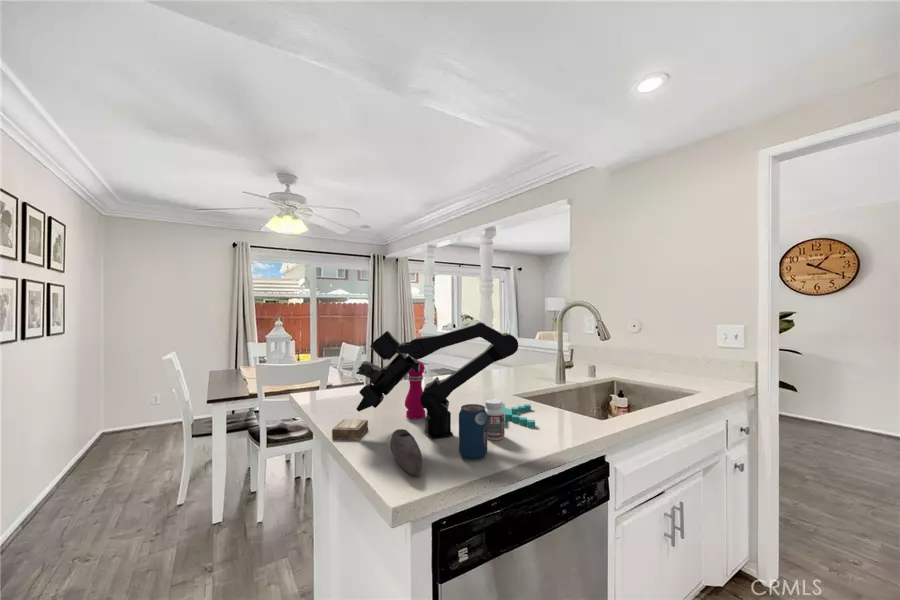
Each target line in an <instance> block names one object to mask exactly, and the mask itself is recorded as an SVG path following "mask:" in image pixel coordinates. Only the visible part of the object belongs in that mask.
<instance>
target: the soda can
mask: <svg viewBox="0 0 900 600" xmlns="http://www.w3.org/2000/svg"><path fill="white" fill-rule="evenodd" d="M484 406H485V405H481V404H479V403H478V404H476V403H469V404H464V405H461V407H460V410H459V413H458V452H459V454H460V457H461V458H462V459H463V460H466V461H469V462H479V461H481V460H484V459H485V457H486V455H488V439H487V413H486V411H485V407H484ZM483 458H484V459H483ZM478 460H479V461H478Z"/></svg>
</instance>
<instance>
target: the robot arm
mask: <svg viewBox="0 0 900 600" xmlns="http://www.w3.org/2000/svg"><path fill="white" fill-rule="evenodd" d="M478 338H481V339H483V340H484V341H487V342H488V343H489V346H488V347H487V348H486V349H485V350H484V351H483V352H482V353H480V354H478V355H477V356H475V357H474V358H473V359H471V360H469V361H468V362H467V363H466V364H464V365H463V366H462V367H460V368H458V369H457V370H455V372H454V371H453V373H451V374H450V375H449V376H448V377H446V378H443V379H440V378H439V377H438V376H436V377H435V378H434V379H433V380H432V381H431V382H429V383H426V385H425V386H424V388H423V393H422V395H421V398H420V401H421V404H422V406H423V407H424V409H425V410H426V417H424V433H425V434H426V435H427V436H428V437H430V438H431V439H432V440H433V439H439V438H444V437H450V436H451V437H452V436H454V433H453V432H452V430H451V429H452V428H451V427H452V424H451V423H452V421H451V416H452V414H451V411H449V406H450V401H449V400H448V399H447V398H448V397H449V396H450V395H451V394H452V392H453V391H455V390H456V389H457V388H459V387H460V386H462V385H463V384H465V383H466V382H467V381H469V380H470V379H472V378H473V377H475V376H476V375H478V373H480V372H482V371H483V370H484V369H486V368H487V367H488V366H490V365H492V364H493V363H496V362H498V361H502V360H504V359H507V358H509V357H510V356H513V355H514V354H515V353H517V351H518V349H519V341H518V339H517V338H516V337H515V336H514V335H512V334H510V333H508V332H503V333H501V332H499V331H498V330H496V329H494V328H492V327H490V326H488V325H486V323H484V322H481V321H480V322H477V323H475V324H472V325H469V326H465V327H461V328H458V329H455V330H451V331H448V332H445V333H442V334H436V335H427V336H418V337H415V338H413V339H412V340H411V341H407V342H402V343H400V342H399V341H398V340H397V339H396V338H395V337H394V336H393V334H392V333H391V332H390V331H389V330H386V331H385V332H384V333H382V334H381V335H380V336H379V337H378V338H376V339H375V340H374V341H373V342H372V343H371V344H370V346H369V348H371V349H372V351H374V353H376V354H377V355H378V357H379V358H380V359H382V360H383V361H390V360H391V359H392V358H393V357H394V358H393V360H391V361H390V363H389V364H387V365H386V366H384V367H380V366H378V365H377V364H374V363H372V362H370V361H368V360H365V361H362V362H361V365H360V366H359V368H358V371H357V373H358V375H360V376H364V377H366V378H368V379H371V380H370V382H371V383H367V384H365V385H364V386H363V387H362V388H361V389H360V390H359V391H358V393H359V395H361V397H362V399H361V400H360V402H359V404H358V405H357V407H356V411H357V412H361V411H364V410H365V409H369V408H371V407H373V408H374V409H376V408H377V407H378V406H379V405H380V404H381V403H382V402H383V401H384V399H385V397H384V396H387V395H389V394H390V393H391V391H392V390H394V388H395V387H396V386H397V385H398V384H399V383H400V382H401V381H402V380H403V379H404V378H405V377H406V375H408V372H409V371H410V370H411V369H412V368H413V369H414V370H415V371H416V372H418V371H419V370H420V359H423V358H425V357H427V356H430V355H432V354H434V353H435V352H437V351H439V350H441V349H443V348H447V347H449V346H453V345H457V344H460V343H463V342H466V341H471V340H473V339H478ZM405 354H406V355H405ZM413 358H414V359H418V361H419V362H416V361H415V360H414V359H413Z"/></svg>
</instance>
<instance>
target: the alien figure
mask: <svg viewBox="0 0 900 600" xmlns="http://www.w3.org/2000/svg"><path fill="white" fill-rule="evenodd" d="M502 404H503V406H502V409H503V410H504V428H505V427H506V421H511V423H514V424H515V423H516V424H519V426H527V428H529V429H536V420H535V419H528V417H526V416H524V417H521V416H520V415H519V414H523V413H524V414H525V413H526V412H532V404H530V403H523V405H517V406H515V407H514V406H511V407H510V408H506V403H502ZM483 406H484V407H485V409H486V408H487V407H486V404H485V405H483Z"/></svg>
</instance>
